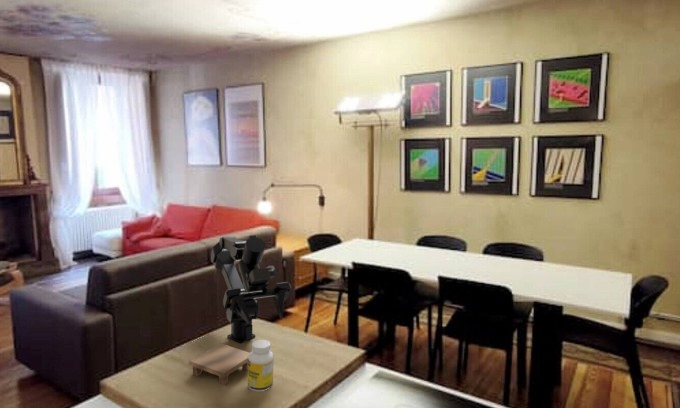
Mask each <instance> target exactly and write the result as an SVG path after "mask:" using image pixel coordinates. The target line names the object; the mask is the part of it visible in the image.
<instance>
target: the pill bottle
mask: <svg viewBox="0 0 680 408" xmlns="http://www.w3.org/2000/svg"><path fill="white" fill-rule="evenodd" d="M271 345H272V344H271V342H270V340H266V339H257V340H254V341H253V342H252V343H251V351H250V352H249V355H248V370H247V386H248V389H250V390H251V391H253V390H254V391H253V392H258V391H261V392H264V391H263V390H266V389H268V390H269V389H271V388H272V387H273V383H274V362H275V361H274V360H275V359H274V357H275V356H274V353H273V352H272V350H271ZM270 387H271V388H270ZM266 391H267V390H266Z"/></svg>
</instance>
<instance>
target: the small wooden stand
mask: <svg viewBox="0 0 680 408" xmlns="http://www.w3.org/2000/svg"><path fill="white" fill-rule="evenodd" d="M249 353H250V352H249V351H246V350H242V349H239V348H236V347H233V346H231V345H227V344H224V343H221V342H220V343H219V344H217V345H215V346H213V347H211V348H209V349H208V350H205V351H204V352H203V353H201V354H199V355H197V356H195V357H194V358H191V359H189V360H188V366H191V367H192V375H193V376H196V377H198V376H199V375H201V374H202V371H205V372H208V373H210V374H211V375H215V376H218V385H220V386H222V387H224V386H227V385H228V383H229V375H230V374H232V373H233V372H235V371H237V370H239V368H241V369H242V370H245V371H248V355H249Z"/></svg>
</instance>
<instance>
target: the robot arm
mask: <svg viewBox="0 0 680 408" xmlns="http://www.w3.org/2000/svg"><path fill="white" fill-rule="evenodd" d="M266 247H267V246H266V242H265V241H264V240H263V239H261V238H258V237H257V235H256V234H253V235H252V234H251V235H248V238H247V240H241V239H239V238H237V237H236V236H234V235H233V236H232V235H230V236H222V237H220V238H219V241H218V242H217V243H216V244H215V245H214V246H213V247H211V248H212V249H211V253H210V261H211V263H213V266H214V268H215V269H216V270H218V271H220V272H221V273H222V276H223V279H224V281H225V284H226V287H227V289H226V290H225V291H224V295H223V300H222V304H223V308H224V309H225V310H226V312H225V313H226V319H227V320H228V322H229V323H230V324H231V326H230V328H231V331H230V334H227V336H226V337H227V338H228V339H230V340H233V341H235V342H237V343H239V344H241V343H245V342H246V341H249V340H250V339H253V338H255V337H256V334H254V333H253V320H258V319H257V318H258V315H259V309H260V304H259V303H258V300H256V299H262V298H269V297H272V298H273V300H274V303H273V305H274V307H275V309H276V312H277V314H278V317H279V318H280V319H283V318H284V317H283V315H284V302H286V300H288V299H289V296H290V294H291V291H292V289H293V288H292V285H291V283H290V282H288V281H284V282H276V283H275V285H274V288H267V287H269V284H270V283H269V281H270V280H271V279H274V278H275V277H276V276H277V271H276V268H275V266H274V265H268V266H267V267H262V268H261V267H260V263H261V262H262V259H263V257H264V254H265V250H266ZM237 261H239V262H238V265H237V266H238V269H237V267H236V262H237ZM239 273H240V275H239ZM240 276H241V277H240Z"/></svg>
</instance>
